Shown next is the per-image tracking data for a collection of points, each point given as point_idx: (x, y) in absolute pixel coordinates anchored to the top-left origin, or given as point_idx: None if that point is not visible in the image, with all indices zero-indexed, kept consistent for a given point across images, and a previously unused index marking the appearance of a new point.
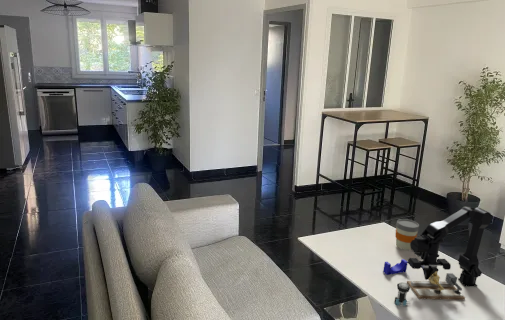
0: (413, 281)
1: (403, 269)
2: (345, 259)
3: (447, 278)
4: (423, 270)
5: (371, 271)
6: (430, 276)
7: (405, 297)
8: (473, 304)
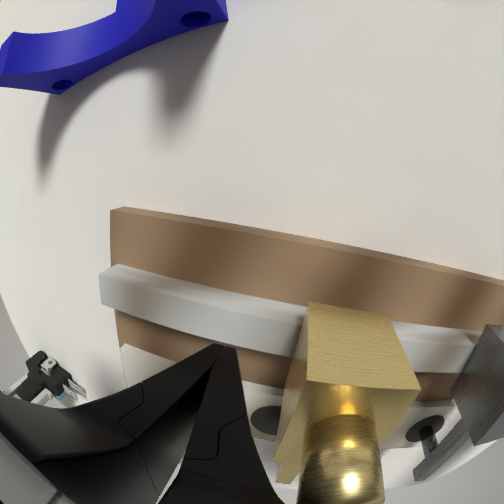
0: (116, 283)
1: (177, 15)
2: (15, 15)
3: (491, 371)
4: (112, 410)
5: None
6: (295, 379)
7: (45, 400)
8: (419, 454)
